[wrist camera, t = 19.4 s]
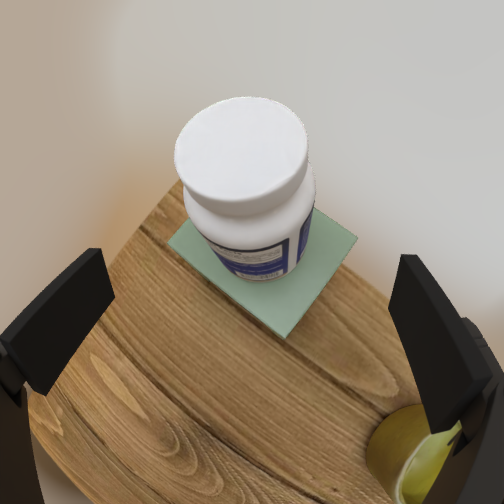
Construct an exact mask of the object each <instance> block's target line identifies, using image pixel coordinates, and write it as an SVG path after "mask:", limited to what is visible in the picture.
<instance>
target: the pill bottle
mask: <svg viewBox="0 0 504 504" xmlns="http://www.w3.org/2000/svg"><path fill="white" fill-rule="evenodd" d="M174 163H175V168H176V171H177V173H178V175H179V177H180V179H181V181H182V183H183V184H184V191H183V195H184V204H185V208H186V211H187V213H188V216H189V218H190V219H191V221H192V223H193V225H194V226H195V227H196V229H197V230H198V232H199V233H200V234H201V235H202V237H203V238H204V239H205V241H206V242H207V243H208V245H209V246H210V247H211V249H212V250H213V252H214V253H215V254H216V256H217V257H218V258H219V260H220V261H221V262H222V264H223V265H224V266H225V267H226V268H227V269H228V270H229V271H230V272H231V273H232V274H234V275H235V276H237V277H239V278H241V279H243V280H246V281H249V282H256V283H264V282H270V281H274V280H277V279H280V278H282V277H284V276H285V275H287V274H288V273H290V272H291V271H292V270H293V269H294V268H295V267H296V266H297V264H298V263H299V262H300V260H301V258H302V256H303V254H304V252H305V249H306V245H307V240H308V234H309V229H310V224H311V218H312V213H313V207H314V202H315V195H316V185H315V177H314V172H313V169H312V166H311V164H310V162H309V160H308V136H307V133H306V130H305V127H304V125H303V123H302V122H301V120H300V119H299V117H298V116H297V115H296V114H295V113H294V112H293V111H291V110H290V109H289V108H288V107H286V106H284V105H282V104H280V103H278V102H276V101H273V100H270V99H266V98H259V97H237V98H231V99H227V100H223V101H220V102H218V103H215V104H213V105H211V106H209V107H207V108H205V109H203V110H202V111H200V112H199V113H198V114H196V115H195V116H194V117H193V118H192V119H191V120H190V121H189V122H188V123H187V124H186V125H185V127H184V128H183V130H182V131H181V133H180V135H179V137H178V139H177V141H176V145H175V150H174Z"/></svg>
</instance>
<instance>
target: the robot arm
mask: <svg viewBox="0 0 504 504" xmlns="http://www.w3.org/2000/svg"><path fill="white" fill-rule="evenodd" d="M114 298H115V295H114V292H113V288H112V285H111V282H110V279H109V275H108V272H107V268H106V265H105V261H104V258H103V254H102V250H101V248H89V249H87V250H86V251H85V252H84V253H83V254H82V255H80V256H79V257H78V258H77V259H76V260H75V261H74V262H73V263H71V264H70V266H68V267H67V268H66V269H65V270H64V271H63V272H62V273H61V274H59V276H57V277H56V278H55V279H54V280H53V281H52V282H51V283H50V284H49V285H48V286H47V287H46V288H45V289H44V290H43V291H42V292H41V293H40V294H39V295H38V296H37V297H36V298H35V299H34V300H33V301H32V302H31V303H30V304H29V305H28V306H27V307H26V308H25V309H24V310H23V311H22V312H21V313H20V314H19V315H18V316H17V318H15V320H14V321H13V322H12V323H11V324H10V325H9V326H8V327H7V328H6V329H5V331H4V332H3V333H2V334H1V335H0V504H45V503H44V499H43V496H42V492H41V488H40V484H39V480H38V475H37V471H36V466H35V460H34V455H33V449H32V442H31V435H30V426H29V416H28V403H27V391H26V388H25V387H24V386H23V384H24V383H25V381H27V382H28V384H29V385H30V386H31V388H32V389H33V390H34V391H35V392H37V393H40V394H42V395H44V396H47V394H48V392H49V391H50V389H51V388H52V386H53V385H54V383H55V381H56V380H57V378H58V377H59V375H60V374H61V372H62V371H63V369H64V368H65V366H66V365H67V363H68V362H69V360H70V359H71V357H72V356H73V355H74V353H75V352H76V350H77V349H78V347H79V346H80V345H81V343H82V342H83V340H84V339H85V337H86V336H87V335H88V333H89V332H90V331H91V329H92V328H93V326H94V325H95V324H96V322H97V321H98V320H99V318H100V317H101V316H102V314H103V313H104V312H105V310H106V309H107V308H108V306H109V305H110V304H111V302H112V301H113V300H114ZM388 310H389V312H390V315H391V317H392V319H393V322H394V324H395V327H396V329H397V332H398V334H399V337H400V340H401V342H402V345H403V348H404V350H405V353H406V356H407V358H408V361H409V364H410V367H411V370H412V373H413V376H414V379H415V382H416V385H417V388H418V391H419V394H420V397H421V400H422V404H423V407H424V410H425V414H426V417H427V421H428V424H429V428H430V432H431V435H433V434H437V433H441V432H445V431H449V430H451V429H452V428H453V427H454V426H455V424H456V423H457V422H458V421H459V420H460V423H461V427H462V428H461V429H460V430H459V431H458V432H457V433H456V435H455V436H454V437H453V438H452V439H451V440H450V441H449V442H448V444H447V445H448V446H450V445H451V444H452V443H453V442H454V443H453V445H452V447H451V449H450V452H449V454H448V456H447V458H446V460H445V462H444V464H443V466H442V468H441V470H440V472H439V474H438V476H437V478H436V479H435V481H434V483H433V485H432V487H431V488H430V490H429V492H428V494H427V495H426V497H425V499H424V500H423V502H422V503H421V504H504V372H503V371H502V369H501V367H500V365H499V363H498V361H497V360H496V358H495V356H494V354H493V352H492V351H491V349H490V347H488V344H487V342H486V341H485V339H484V338H483V336H482V334H481V332H480V331H479V329H478V328H477V326H476V325H475V324H474V323H472V322H471V321H470V320H469V319H468V318H467V317H465V318H461V317H460V316H459V314H458V313H457V311H456V309H455V308H454V306H453V305H452V303H451V302H450V300H449V299H448V297H447V296H446V294H445V293H444V291H443V290H442V289H441V287H440V286H439V284H438V283H437V281H436V280H435V279H434V277H433V276H432V274H431V273H430V272H429V270H428V269H427V268H426V266H425V265H424V264H423V262H422V261H421V260H420V258H419V257H418V256H417V255H407V254H401V257H400V262H399V266H398V271H397V276H396V279H395V283H394V288H393V291H392V296H391V299H390V302H389V306H388Z"/></svg>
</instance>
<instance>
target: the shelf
mask: <svg viewBox="0 0 504 504" xmlns="http://www.w3.org/2000/svg"><path fill="white" fill-rule="evenodd" d="M357 239H358V237H357V236H355V235H354V234H352V233H351V232H350V231H348V230H347V229H345V228H344V227H342V226H341V225H340V224H338V223H337V222H335V221H334V220H332V219H331V218H329V217H328V216H326V215H325V214H323V213H322V212H320V211H319V210H317V209H316V208H314V207H313V213H312V218H311V224H310V229H309V234H308V240H307V245H306V249H305V252H304V254H303V256H302V258H301V260H300V262H299V263H298V264H297V266H296V267H295V268H294V269H293V270H292V271H291V272H290V273H288V274H287V275H285V276H284V277H282V278H280V279H277V280H274V281H270V282H264V283H256V282H249V281H246V280H243V279H241V278H239V277H237V276H235V275H234V274H232V273H231V272H230V271H229V270H228V269H227V268H226V267H225V266H224V265H223V264H222V262H221V261H220V260H219V258H218V257H217V256H216V254H215V253H214V252H213V250H212V249H211V247H210V246H209V245H208V243H207V242H206V241H205V239H204V238H203V237H202V235H201V234H200V233H199V232H198V230H197V229H196V227H195V226H194V225H193V223H192V221H191V219H190V218H188V219H187V220H186V221H185V223H184V224H183V225H182V226H181V227H180V228H179V229H178V231H177V232H176V233H175V234H174V235H173V236H172V238H171V239H170V240H169V241H168V242H167V244H168V245H169V246H170V247H171V248H172V249H173V250H174V251H175V252H176V253H177V254H178V255H179V256H181V257H182V258H183V259H184V260H185V261H186V262H187V263H188V264H189V265H190V266H191V267H193V268H194V269H195V270H196V271H197V272H198V273H199V274H200V275H201V276H203V277H204V278H205V279H206V280H207V281H209V282H212V283H214V284H215V285H216V286H217V287H218V288H220V289H221V290H222V291H223V292H225V293H226V294H227V295H228V296H230V297H231V298H232V299H233V300H235V301H236V302H237V303H238V304H240V305H241V306H242V307H243V308H245V309H246V310H247V311H248V312H250V313H251V314H252V315H253V316H255V317H256V318H257V319H259V320H260V321H261V322H262V323H264V324H265V325H266V326H268V327H269V328H270V329H271V330H272V331H273V333H274V334H275V335H277V336H278V337H279V338H281V339H282V340H284V339H285V338H286V337H287V336H288V335H289V333H290V332H291V331H292V330H293V328H294V327H295V326H296V324H297V323H298V322H299V321H300V319H301V318H302V317H303V315H304V314H305V313H306V311H307V310H308V309H309V307H310V306H311V305H312V303H313V302H314V301H315V299H316V298H317V297H318V295H319V294H320V292H321V291H322V290H323V288H324V287H325V286H326V284H327V283H328V281H329V280H330V279H331V277H332V276H333V274H334V273H335V272H336V270H337V269H338V267H339V266H340V264H341V263H342V261H343V260H344V258H345V257H346V256H347V254H348V253H349V251H350V250H351V248H352V246H353V245H354V244H355V242H356V241H357Z"/></svg>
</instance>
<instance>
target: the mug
mask: <svg viewBox="0 0 504 504" xmlns="http://www.w3.org/2000/svg"><path fill="white" fill-rule="evenodd" d="M461 428H462V427H461V423H460V420H459V421H458V422H457V423H456V424H455V426H454V427H453V428H452V429H451V430H449V431H445V432H441V433H437V434H433V435H431V432H430V428H429V424H428V421H427V417H426V414H425V410H424V407H423V404H418V405H411V406H407V407H404V408H402V409H399V410H398V411H396V412H394V413H392V414H391V415H389V416H388V417H387V418H385V419H384V420H383V421H382V422H381V423H380V425H379V426H378V428H377V429H376V430H375V431H374V433H373V435H372V437H371V439H370V442H369V444H368V447H367V450H366V463H367V466H368V468H369V470H370V472H371V474H372V475H373V476H374V477H375V478H376V479H377V480H378V481H379V483H380V484H381V486H382V487H383V488H384V490H385V491H386V493H387V494H388V495H389V497H390V498H391V499H392V501H393V502H394V503H395V504H421V503H422V502H423V500H424V499H425V497H426V495H427V494H428V492H429V490H430V488H431V487H432V485H433V483H434V481H435V479H436V478H437V476H438V474H439V472H440V470H441V468H442V466H443V464H444V462H445V460H446V458H447V456H448V454H449V452H450V449H451V447H452V445H453V443H454V442H453V443H452V444H451V445H450V446H448V445H447V444H448V442H449V441H450V440H451V439H452V438H453V437H454V436H455V435H456V433H457V432H458V431H459V430H460V429H461Z"/></svg>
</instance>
